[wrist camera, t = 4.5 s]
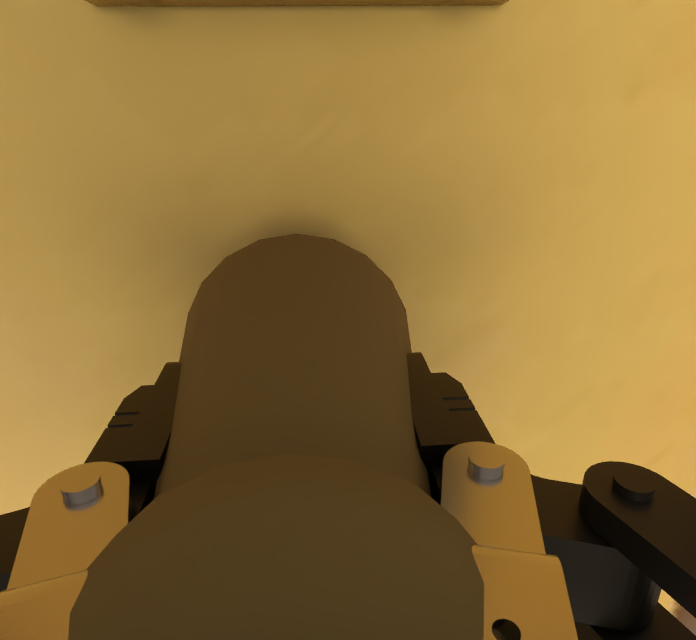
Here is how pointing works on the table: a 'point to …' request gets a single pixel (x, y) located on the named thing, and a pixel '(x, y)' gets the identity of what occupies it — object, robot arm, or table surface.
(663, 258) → the table surface
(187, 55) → the table surface
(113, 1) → the grey metal tray
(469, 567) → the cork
